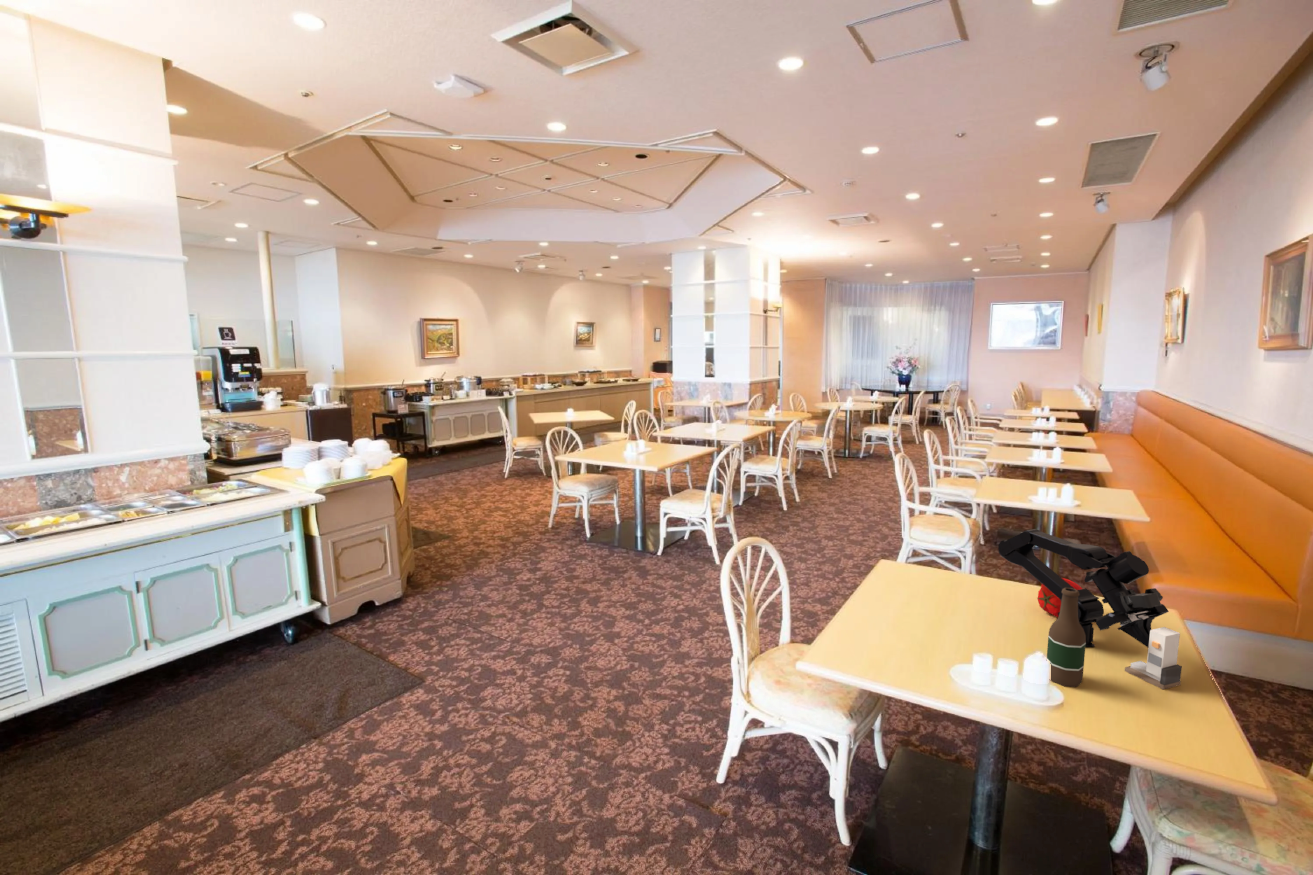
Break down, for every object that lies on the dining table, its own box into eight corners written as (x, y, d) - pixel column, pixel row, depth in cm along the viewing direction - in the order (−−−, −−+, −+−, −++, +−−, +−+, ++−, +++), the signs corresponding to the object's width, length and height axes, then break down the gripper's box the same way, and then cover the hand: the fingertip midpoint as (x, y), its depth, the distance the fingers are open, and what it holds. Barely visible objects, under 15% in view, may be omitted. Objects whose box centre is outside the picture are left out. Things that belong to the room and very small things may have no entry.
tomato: (1073, 618, 193) (1037, 624, 191) (1057, 579, 198) (1021, 584, 196) (1105, 612, 182) (1067, 617, 179) (1086, 570, 187) (1049, 575, 184)
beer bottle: (1083, 691, 148) (1091, 598, 145) (1045, 682, 152) (1052, 592, 149) (1081, 676, 155) (1088, 587, 151) (1045, 668, 159) (1051, 581, 155)
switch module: (1144, 671, 152) (1148, 630, 150) (1160, 667, 153) (1164, 626, 152) (1159, 678, 149) (1163, 636, 147) (1175, 674, 150) (1179, 632, 149)
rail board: (1124, 670, 157) (1126, 652, 156) (1141, 666, 158) (1143, 648, 158) (1163, 689, 148) (1165, 670, 147) (1180, 684, 150) (1182, 666, 149)
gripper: (1111, 583, 152) (1154, 644, 143) (1164, 573, 157) (1208, 632, 149) (1079, 600, 161) (1117, 659, 152) (1130, 590, 166) (1169, 646, 157)
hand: (1154, 649), depth 152 cm, fingers closed, pressing on switch module
